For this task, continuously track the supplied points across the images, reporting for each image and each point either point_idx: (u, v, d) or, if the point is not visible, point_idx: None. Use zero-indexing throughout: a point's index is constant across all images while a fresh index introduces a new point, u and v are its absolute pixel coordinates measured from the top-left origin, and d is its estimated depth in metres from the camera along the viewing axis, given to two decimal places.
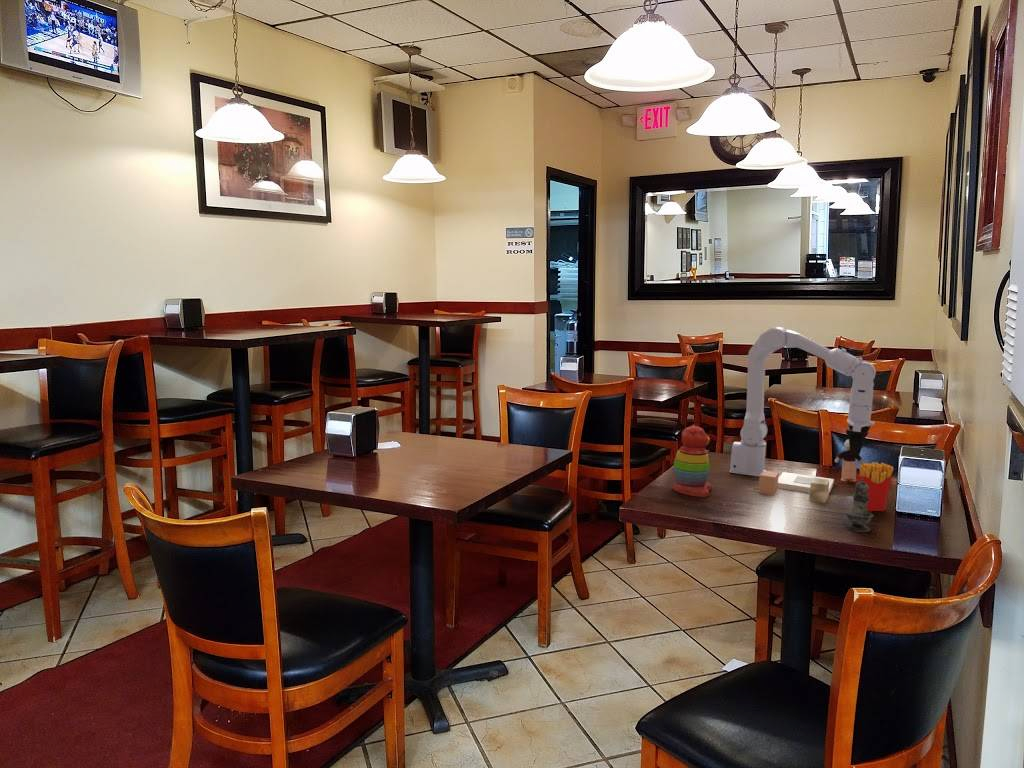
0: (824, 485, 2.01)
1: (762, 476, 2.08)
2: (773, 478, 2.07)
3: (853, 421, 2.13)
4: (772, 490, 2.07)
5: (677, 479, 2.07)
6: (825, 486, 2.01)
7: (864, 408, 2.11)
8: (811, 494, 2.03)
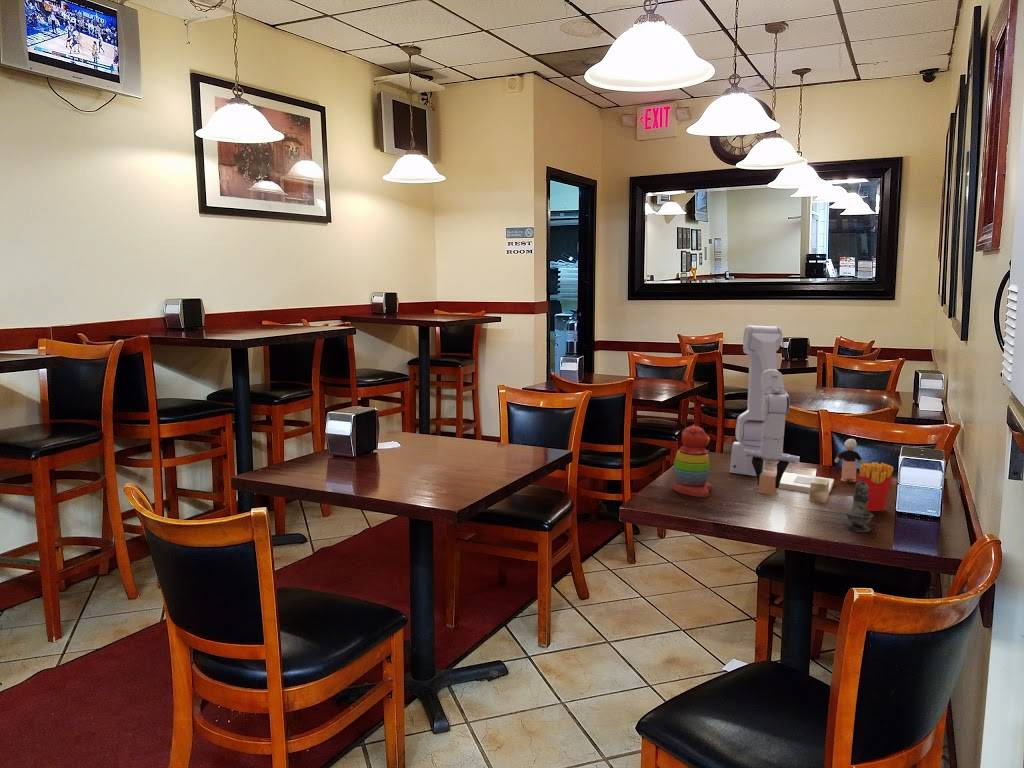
0: (824, 485, 2.01)
1: (762, 476, 2.08)
2: (773, 478, 2.07)
3: None
4: (772, 490, 2.07)
5: (677, 479, 2.07)
6: (825, 486, 2.01)
7: (761, 438, 2.09)
8: (811, 494, 2.03)
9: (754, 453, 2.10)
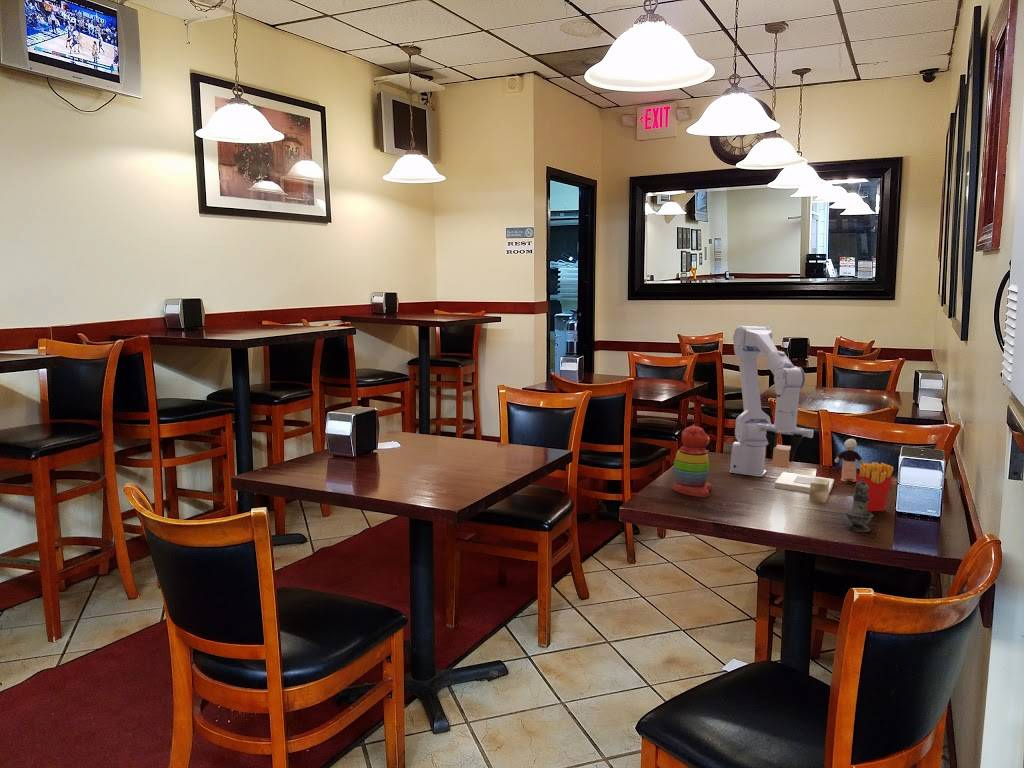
0: (824, 485, 2.01)
1: (776, 449, 2.09)
2: (787, 451, 2.08)
3: None
4: (786, 463, 2.08)
5: (677, 479, 2.07)
6: (825, 486, 2.01)
7: (775, 412, 2.10)
8: (811, 494, 2.03)
9: (768, 427, 2.11)
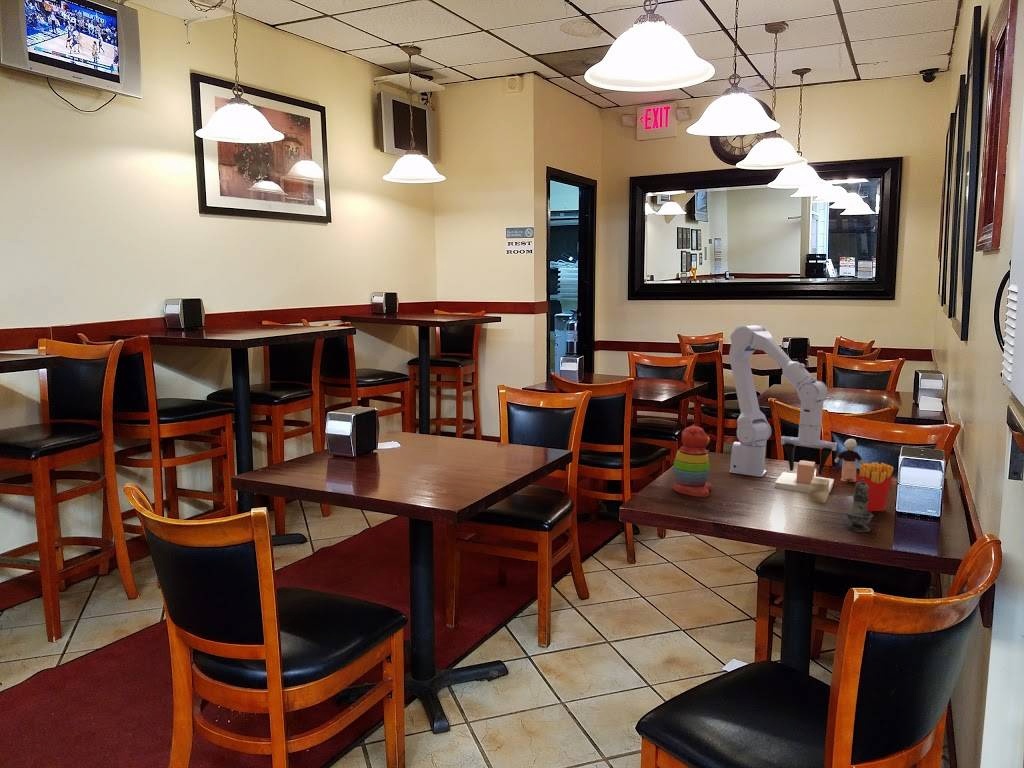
0: (824, 485, 2.01)
1: (800, 465, 2.15)
2: (811, 467, 2.13)
3: None
4: (810, 479, 2.14)
5: (677, 479, 2.07)
6: (825, 486, 2.01)
7: (799, 425, 2.15)
8: (811, 494, 2.03)
9: (792, 440, 2.16)
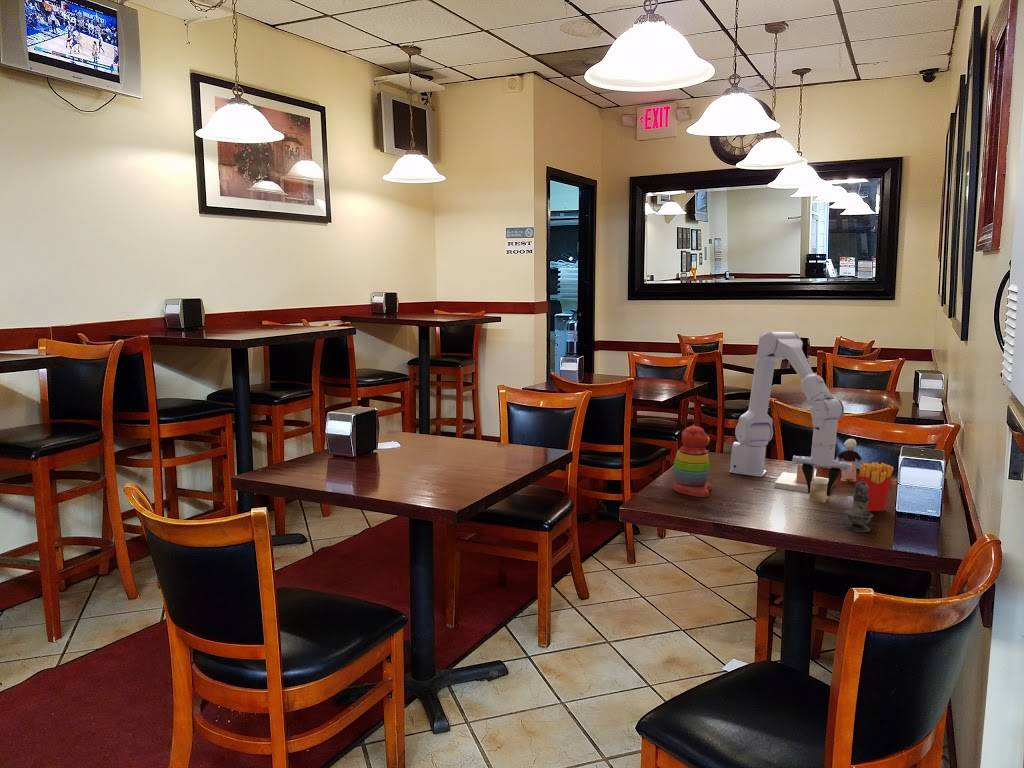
0: (824, 485, 2.01)
1: (800, 465, 2.15)
2: None
3: None
4: None
5: (677, 479, 2.07)
6: (825, 486, 2.01)
7: (812, 444, 2.03)
8: (811, 494, 2.03)
9: (805, 460, 2.04)
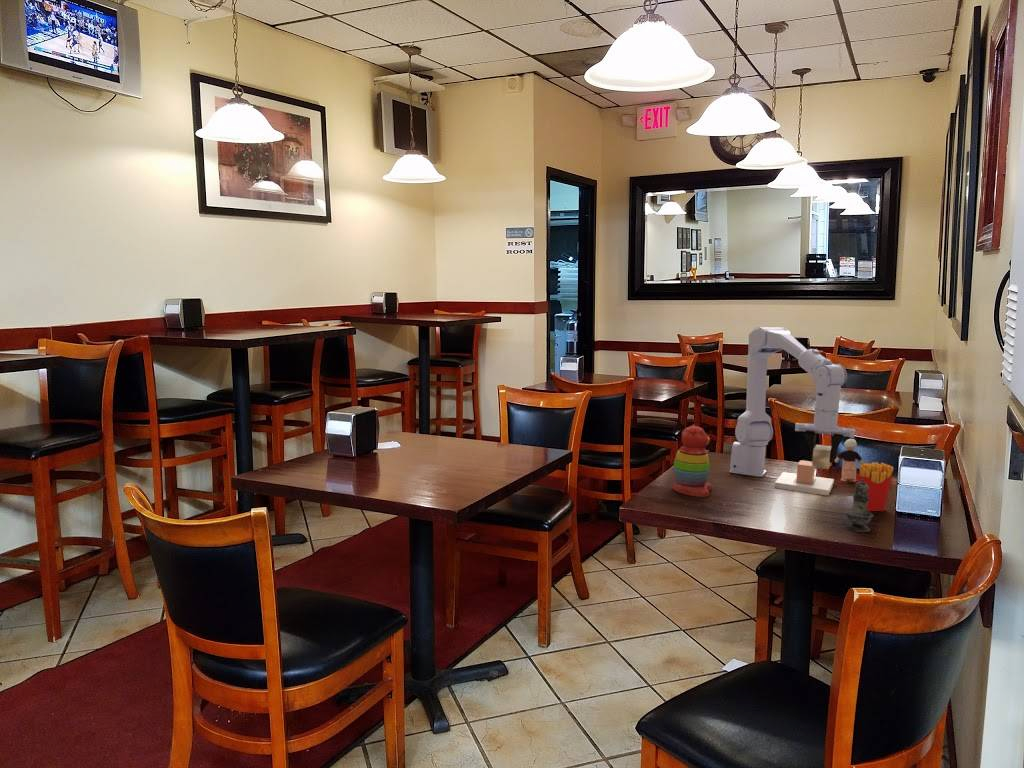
0: (827, 451, 2.00)
1: (800, 465, 2.15)
2: (811, 467, 2.13)
3: None
4: (810, 479, 2.14)
5: (677, 479, 2.07)
6: (828, 452, 2.00)
7: (815, 411, 2.02)
8: (814, 460, 2.02)
9: (807, 426, 2.03)
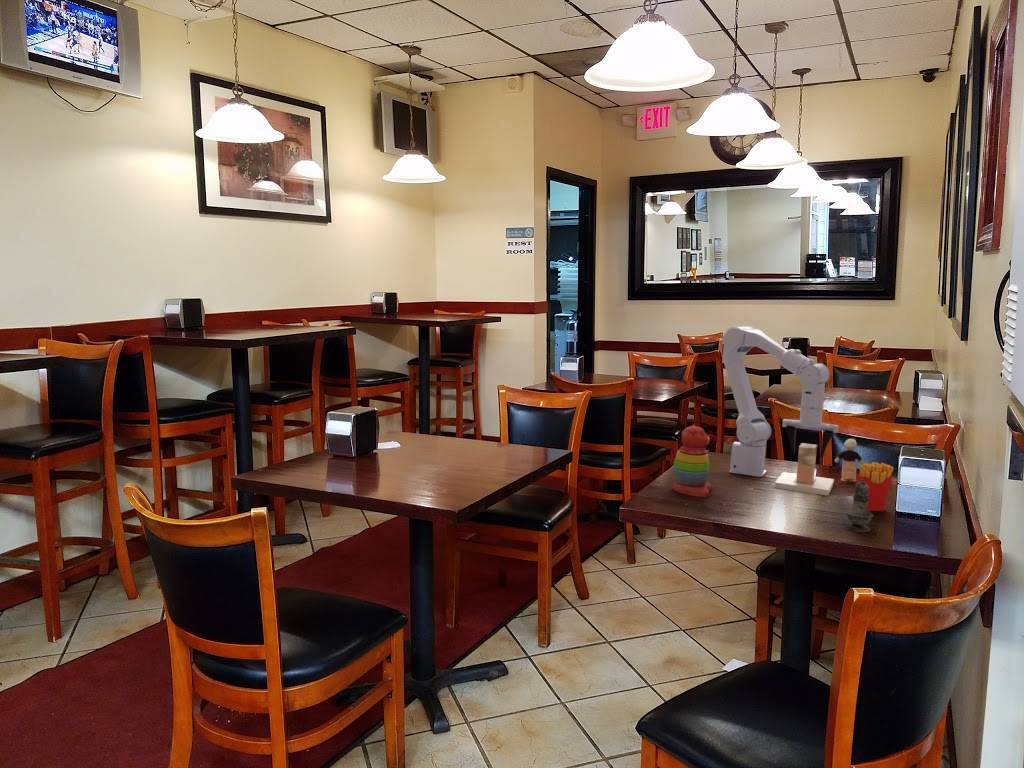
0: (812, 449, 2.13)
1: (800, 465, 2.15)
2: (811, 467, 2.13)
3: None
4: (810, 479, 2.14)
5: (677, 479, 2.07)
6: (813, 450, 2.13)
7: (801, 408, 2.15)
8: (799, 458, 2.14)
9: (794, 422, 2.16)
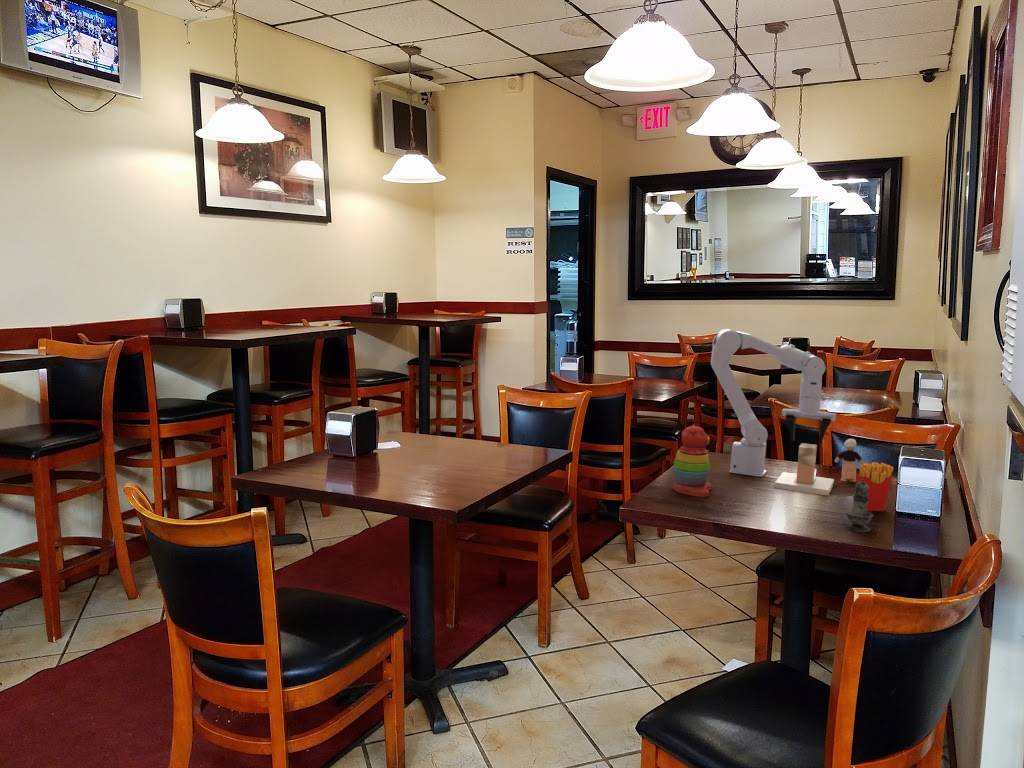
0: (812, 449, 2.13)
1: (800, 465, 2.15)
2: (811, 467, 2.13)
3: None
4: (810, 479, 2.14)
5: (677, 479, 2.07)
6: (813, 450, 2.13)
7: (800, 397, 2.25)
8: (799, 458, 2.14)
9: (793, 411, 2.26)
